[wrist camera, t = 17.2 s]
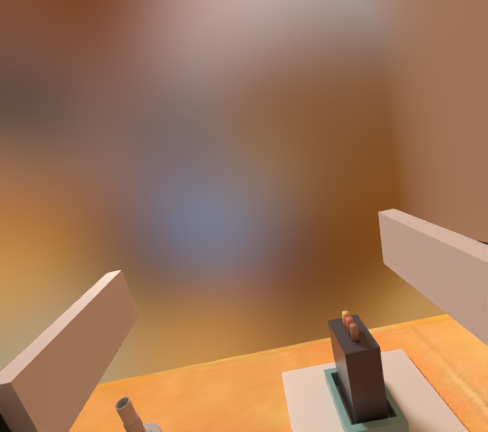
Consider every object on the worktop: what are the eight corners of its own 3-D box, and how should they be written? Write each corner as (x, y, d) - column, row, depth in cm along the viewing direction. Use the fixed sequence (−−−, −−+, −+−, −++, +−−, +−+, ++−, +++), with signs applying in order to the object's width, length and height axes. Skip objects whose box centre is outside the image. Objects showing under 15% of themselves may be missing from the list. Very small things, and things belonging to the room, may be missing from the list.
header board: (305, 501, 28) (299, 479, 28) (282, 377, 44) (278, 360, 43) (492, 468, 28) (492, 444, 27) (401, 353, 43) (400, 335, 42)
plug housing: (357, 433, 33) (342, 339, 29) (339, 390, 38) (325, 308, 35) (389, 426, 32) (378, 332, 29) (367, 384, 38) (355, 301, 35)
